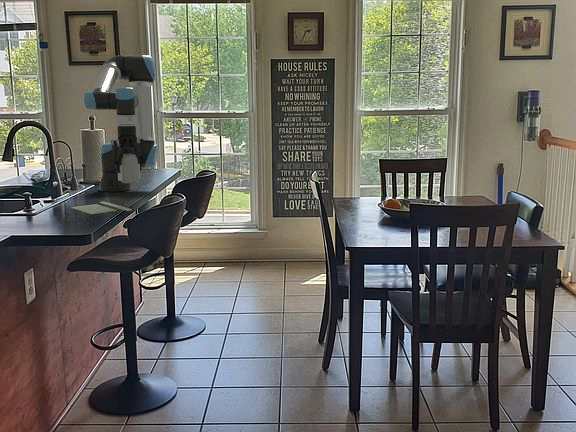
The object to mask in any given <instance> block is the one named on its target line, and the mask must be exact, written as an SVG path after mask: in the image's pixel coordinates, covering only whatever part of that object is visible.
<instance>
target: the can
mask: <svg viewBox="0 0 576 432" xmlns="http://www.w3.org/2000/svg"><path fill="white" fill-rule="evenodd" d="M135 155H136V154H123V157H122V161H121V164H120V165H122V172H123V181H121V182H122V183H131V184H135V183H137V182H138V181H139V179H138V159H137V157H136V156H135Z"/></svg>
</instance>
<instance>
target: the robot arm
mask: <svg viewBox="0 0 576 432" xmlns="http://www.w3.org/2000/svg"><path fill="white" fill-rule="evenodd" d="M156 70H157V69H156V65H155V60H154V58H153V57H152V56H151V55H145V54H118V55H115V56H113V57H112V56H111V58H109V59H107V60H106V61H105V62H103V64H101V67H100V69H99V77H98V79H97V81H96V84H95V86H94V89H93V91H86V92H85V93H84V95H83V103H84V106H85V108H86V109H87V110H92V111H93V110H94V111H99V110H101V111H102V110H103V111H104V110H105V111H107V110H108V111H109V110H110V111H112V110H113V111H115V110H116V124H117V129H116V130H117V139H111V141H110V142H108V143H107V142H106V143H103V144H102V145H101V146H100V157H101V158H100V159H101V177H100V181H99V185H98V186H99V187H98V189H99V192H108V193H109V192H110V193H111V192H112V193H113V192H114V193H115V192H126V191H129V190H132V183H122V182H121V181H123V172H122V165H120V164H121V161H122V157H123V154H136V155H135V156H136V157H137V159H138V180H141V171H142V169H152V168H155V166H156V165H157V161H158V153H159V145H158V144H157V143H156V142H155V141H156V140H154V139H153V137H152V113H151V110H152V109H151V108H152V107H151V105H152V104H151V87H152V86H153V85H154V81H156V80H157V71H156ZM121 80H122V81H128V84H129V86H131V87H117V88H115V86H116V83H117V82H118V81H121ZM114 88H115V91H114Z"/></svg>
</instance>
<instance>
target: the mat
mask: <svg viewBox="0 0 576 432" xmlns="http://www.w3.org/2000/svg"><path fill="white" fill-rule="evenodd" d="M70 209H73V210H75V211H78V212H82V213H85V214H88V215H96V214H97V215H98V214H104V213H112V212H117V211H118V210H117V209H115V208H111V207H109V206H108V207H107V206H106V205H100V204H97V203H95V204H93V203H92V204H87V205H79V206H78V205H77V206H71V207H70Z"/></svg>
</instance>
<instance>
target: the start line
mask: <svg viewBox="0 0 576 432" xmlns="http://www.w3.org/2000/svg"><path fill="white" fill-rule="evenodd" d="M99 204H102V205H103V206H108V207H110V208H111V207H112V208H114V209H115V208H116V209H118V210H122V211H125V212H130V211H132V210H133V209H131V208H128V207H125V206H121V205H118V204H115V203H114V204H113V203H110V202H108V201H107V202H106V201H99Z"/></svg>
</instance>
